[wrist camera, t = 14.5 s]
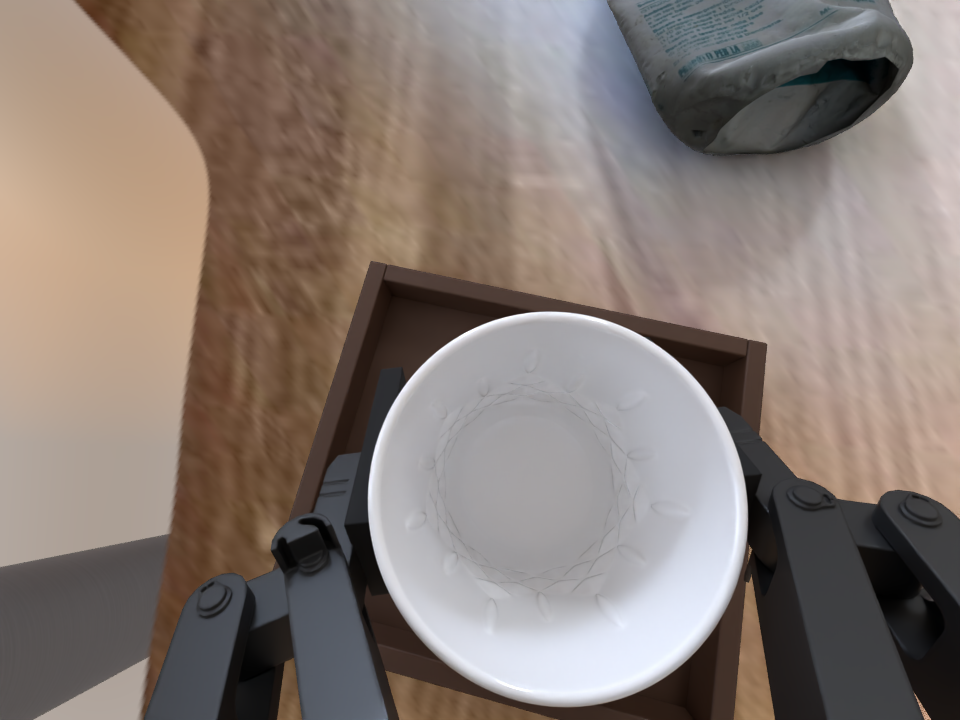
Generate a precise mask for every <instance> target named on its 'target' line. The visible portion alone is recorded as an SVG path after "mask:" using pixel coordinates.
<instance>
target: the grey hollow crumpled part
mask: <svg viewBox="0 0 960 720" xmlns="http://www.w3.org/2000/svg"><path fill="white" fill-rule="evenodd" d="M607 3H608V5H609V7H610V9H611V11H612V13H613V15H614V17H615V19H616V21H617V24H618V26H619V28H620V30H621V32H622V35H623V36H624V38H625V40H626V43H627V45H628V47H629V49H630V51H631V53H632V55H633V57H634V59H635V62H636V63H637V66H638V69H639V70H640V73H641V75H642V77H643V79H644V81H645V84H646V86H647V88H648V91H649V93H650V95H651V98H652V102H653V104H654V106H655V108H656V110H657V112H658V113H659V114H660V116H661V118H662V119H663V121H664V122H665V124H666V125H667V127H668V128H669V129H670V131H671V132H672V133H673V134H674V135H675V136H676V137H677V138H678V139H679V140H680V141H682V142H683V143H684V144H685V145H686V146H688V147H690V148H692V149H693V150H695V151H699V152H701V153H705V154H712V155H735V154H773V153H780V152H785V151H790V150H795V149H799V148H803V147H807V146H811V145H815V144H818V143H820V142H822V141H824V140H827V139H830V138H832V137H834V136H836V135H838V134H840V133H842V132H844V131H846V130H848V129H850V128H851V127H853V126H855V125H856V124H858V123H859V122H861V121H863V120H864V119H866V118H867V117H869V116H870V115H871V114H872V113H874V112H875V111H876V110H877V109H878V108H880V107H881V106H882V105H883V104H884V103H885V102H886V101H888V99H889V98H890V97H891V96H892V95H893V94H894V93H895V92H896V91H897V90H898V88H899V87H900V86H901V84H902V83H903V82H904V80H905V79H906V77H907V75H908V73H909V71H910V69H911V68H912V64H913V48H912V45H911V42H910V39H909V37H908V36H907V34H906V32H905V31H904V30H903V29H902V27H901V26H900V24H899V22H898V20H897V18H896V17H895V16H894V14H893V10H892V8H891V5H890V3H889V0H607Z"/></svg>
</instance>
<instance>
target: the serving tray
mask: <svg viewBox="0 0 960 720" xmlns="http://www.w3.org/2000/svg"><path fill="white" fill-rule="evenodd" d="M533 312H567V313H575V314H582V315H587V316H592V317H596V318H599V319H603V320H606V321H609V322H612V323H615V324H618V325H620V326H622V327H625V328H627V329H629V330H631V331H633V332H635V333H637V334H639V335H641V336H643V337H649V338H650V339H651V340H652V341H653V342H654V344H656V345H657V346H659V347H660V348H662V349H663V350H664V351H666V352H667V353H668V354H670V355H671V356H672V357H673V358H674V359H676V360H677V361H678V362H679V363H680V364H681V365H682V366H683V367H684V368H685V369H686V370H687V371H688V372H689V373H690V374H691V375H692V376H693V377H694V378H695V379H696V380H697V382H698V383H699V384H700V385H701V386H702V388H703V389H704V390H705V391H706V393H707V394H708V396H709V397H710V398H711V400H712V401H713V403H714V404H715V406H716V408H718V407H726V408H728V409H730V410H732V411H733V412H735V413H737V414H738V415H740V416H742V417H743V419H744V420H745V421H746V422H747V423H748V424H749V425H750V426H751V427H752V428H753V431H755V432H756V433H757V434H758V435H759V430H760V419H761V408H762V397H763V385H764V374H765V363H766V352H767V344H766V343H763V342H758V341H753V340H747V339H743V338H739V337H734V336H729V335H724V334H719V333H715V332H710V331H705V330H700V329H695V328H691V327H686V326H681V325H676V324H671V323H667V322H662V321H657V320H652V319H647V318H643V317H638V316H633V315H628V314H623V313H619V312H614V311H609V310H604V309H599V308H595V307H590V306H585V305H580V304H575V303H571V302H566V301H561V300H556V299H551V298H547V297H542V296H537V295H532V294H527V293H523V292H518V291H513V290H508V289H503V288H499V287H494V286H489V285H484V284H479V283H474V282H470V281H465V280H460V279H455V278H450V277H446V276H441V275H436V274H431V273H426V272H422V271H417V270H412V269H407V268H402V267H398V266H393V265H388V266H387V264H383V263H379V262H374V261H371V262H370V265H369V268H368V271H367V275H366V278H365V281H364V284H363V287H362V290H361V294H360V297H359V300H358V303H357V306H356V309H355V312H354V316H353V319H352V322H351V325H350V328H349V331H348V335H347V338H346V341H345V344H344V347H343V350H342V353H341V357H340V360H339V363H338V366H337V369H336V372H335V376H334V379H333V382H332V385H331V388H330V391H329V394H328V398H327V401H326V404H325V407H324V410H323V413H322V417H321V420H320V423H319V426H318V429H317V432H316V435H315V439H314V442H313V445H312V448H311V451H310V454H309V458H308V461H307V464H306V467H305V470H304V473H303V476H302V480H301V483H300V486H299V489H298V492H297V495H296V499H295V502H294V505H293V508H292V511H291V514H290V517H289V521H290V520H292V519H294V518H295V517H297V516H300V515H304V514H307V513H313V512H314V509H315V506H316V502H317V499H318V497H319V493H320V490H321V487H322V485H323V481H324V477H325V474H326V471H327V468H328V467H329V466H330V464H331V463H332V462H333V461H334V460H335V458H336V457H337V456H338V455H342V454H350V453H358V452H361V451H362V447H363V442H364V438H365V434H366V430H367V426H368V422H369V417H370V413H371V409H372V405H373V401H374V396H375V392H376V388H377V384H378V380H379V376H380V371H381V369H389V368H397V367H403V371H404V376H405V380H406V383H407V382H408V381H409V380H410V378H411V377H412V376H413V375H414V373H415V372H416V371H417V370H418V369H419V368H420V367H421V366H422V365H423V364H424V363H425V362H426V361H427V360H428V359H429V358H430V357H431V356H432V355H434V354H435V353H436V352H437V351H438V350H440V349H441V348H442V347H444V346H445V345H446V344H448V343H449V342H451V341H452V340H454V339H455V338H457V337H459V336H461V335H462V334H464V333H466V332H468V331H470V330H472V329H474V328H476V327H478V326H481V325H483V324H486V323H488V322H491V321H494V320H497V319H501V318H504V317H508V316H513V315H518V314H525V313H533ZM748 553H749V544H748V542H747V543H746V550H745V556H744V561H743V565H742V569H741V573H740V576H739V579H738V582H737V585H736V588H735V591H734V593H733V595H732V598H731V600H730V602H729V604H728V606H727V608H726V610H725V612H724V614H723V616H722V617H721V619H720V621H719V622H718V624H717V626H716V627H715V629H714V630H713V631H712V633H711V634H710V635H709V637H708V638H707V639H706V641H705V642H704V643H703V644H702V645H701V647H700V648H699V649H698V650H697V651H696V652H695V653H694V654H693V655H692V656H691V657H690V658H689V659H688V660H687V661H686V662H685V663H683V664H682V665H681V666H680V667H679V668H677V669H676V670H675V671H673V672H672V673H671V674H669V675H668V676H666V677H665V678H663V679H662V680H660V681H659V682H657V683H655V684H653V685H652V686H650V687H648V688H646V689H644V690H642V691H640V692H637V693H635V694H632V695H630V696H627V697H624V698H621V699H618V700H615V701H611V702H607V703H603V704H597V705H591V706H582V707H550V706H541V705H535V704H529V703H525V702H520V701H517V700H513V699H510V698H507V697H504V696H501V695H499V694H496V693H494V692H491V691H489V690H487V689H485V688H483V687H481V686H479V685H477V684H475V683H473V682H471V681H470V680H468V679H466V678H465V677H463V676H462V675H460V674H459V673H457V672H456V671H454V670H453V669H452V668H450V667H449V666H448V665H446V664H445V663H444V662H443V661H442V660H440V659H439V658H438V657H437V656H436V655H435V654H434V653H433V652H432V651H431V650H430V649H429V648H428V647H427V646H426V645H425V644H424V643H423V642H422V641H421V640H420V639H419V638H418V636H417V635H416V634H415V633H414V631H413V630H412V629H411V628H410V626H409V625H408V624H407V622H406V621H405V619H404V618H403V616H402V615H401V613H400V612H399V610H398V608H397V607H396V605H395V603H394V601H393V599H392V597H391V596H390V594H384V595H376V596H371V593H370V591H369V588H368V586H367V587H366V593H365V599H364V603H365V605H366V608H367V610H368V614H369V617H370V621H371V624H372V627H373V631H374V634H375V638H376V641H377V645H378V648H379V651H380V655H381V658H382V662H383V665H384V669H385V670H386V671H389V672H393V673H396V674H400V675H403V676H407V677H410V678H414V679H417V680H421V681H425V682H428V683H432V684H435V685H439V686H442V687H446V688H449V689H453V690H456V691H460V692H463V693H467V694H470V695H474V696H477V697H481V698H484V699H488V700H491V701H495V702H498V703H502V704H505V705H509V706H512V707H516V708H519V709H523V710H526V711H530V712H533V713H537V714H540V715H544V716H547V717H551V718H554V719H558V720H734V709H735V698H736V687H737V675H738V664H739V653H740V642H741V631H742V620H743V608H744V597H745V586H746V582H744V574H745V571H746V568H747V564H748ZM277 568H279V565H278V563H277V561H276V562H275V565H274V568H273V571H274V570H275V569H277Z"/></svg>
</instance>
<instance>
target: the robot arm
mask: <svg viewBox="0 0 960 720" xmlns="http://www.w3.org/2000/svg"><path fill="white" fill-rule="evenodd" d="M645 338H646V339H648V340H650V341H651V342H653V341H652V340H651V339H650V338H649V337H645ZM653 343H654V342H653ZM405 385H406V380H405V376H404V371H403V367H397V368H389V369H381V371H380V376H379V380H378V384H377V388H376V392H375V396H374V401H373V405H372V409H371V413H370V417H369V422H368V426H367V430H366V434H365V438H364V442H363V447H362V451H361V452H358V453H350V454H342V455H338V456H337V457H336V458H335V460H334V461H333V462H332V463H331V464H330V466H329V467H328V468H327V471H326V474H325V477H324V481H323V485H322V487H321V490H320V493H319V497H318V499H317V502H316V506H315V509H314V512H313V513H307V514H304V515H300V516H297V517H295V518H294V519H292V520H290V521H288V522H287V523H286V524H285V525H284V526H283V527H282V528H280V529H279V530H278V532H277V533H276V535H275V537H274V538H273V540H272V545H271V552H272V554H273V556H274V557H275V559H276V561H277V563H278V565H279V568H277V569H275V570H274V571H271V572H269V573H267V574H264V575H262V576H259V577H257V578H254V579H252V580H249V581H247V582H246V581H245V580H244V578H243V577H242V576H241V575H238V574H235V573H227V574H221V575H219V576H216V577H214V578H211V579H210V580H208V581H207V582H205V583H204V584H202V585H201V586H200V587H198V588H197V589H196V591H195V592H194V593H193V594H192V595H191V596H190V597H189V598H188V600H187V602H186V604H185V606H184V607H183V609H182V612H181V615H180V618H179V621H178V623H177V626H176V629H175V632H174V635H173V638H172V640H171V643H170V646H169V649H168V652H167V655H166V658H165V660H164V663H163V666H162V669H161V672H160V675H159V677H158V680H157V683H156V686H155V689H154V692H153V694H152V697H151V700H150V703H149V706H148V709H147V711H146V714H145V717H144V720H277V715H278V708H279V700H280V693H281V685H282V678H283V671H284V663H285V662H286V661H288V660H290V659H292V658H294V660H295V668H296V675H297V683H298V691H299V698H300V706H301V714H302V720H399V717H398V713H397V710H396V706H395V703H394V699H393V696H392V693H391V689H390V686H389V682H388V679H387V675H386V672H385V669H384V665H383V662H382V658H381V655H380V651H379V648H378V645H377V641H376V638H375V634H374V631H373V627H372V624H371V621H370V617H369V614H368V610H367V608H366V605H365V603H364V599H365V593H366V587H367V586H368V588H369V591H370V593H371V596H376V595H384V594H389V591H388V589H387V587H386V585H385V583H384V580H383V578H382V575H381V572H380V570H379V567H378V564H377V560H376V557H375V553H374V549H373V544H372V539H371V534H370V527H369V517H368V485H369V475H370V468H371V463H372V458H373V453H374V449H375V446H376V443H377V439H378V436H379V433H380V431H381V428H382V426H383V423H384V421H385V419H386V416H387V414H388V412H389V410H390V408H391V407H392V405H393V403H394V401H395V400H396V398H397V396H398V395H399V393H400V392H401V390H402V389H403V387H404V386H405ZM717 409H718V411H719V413H720V414H721V416H722V418H723V420H724V422H725V424H726V426H727V428H728V430H729V432H730V434H731V437H732V439H733V441H734V444H735V447H736V450H737V453H738V456H739V459H740V462H741V466H742V470H743V475H744V480H745V485H746V493H747V503H748V532H747V542H748V544H749V545H750V547H751V548H752V553H751V556H750V559H749V562H748V565H747V568H746V571H745V574H744V582H749V580H750V577H751V574H752V579H753V585H754V591H755V598H756V604H757V610H758V616H759V622H760V629H761V635H762V641H763V647H764V653H765V660H766V666H767V672H768V678H769V684H770V691H771V697H772V703H773V709H774V715H775V720H924V717H923V715H922V712H921V710H920V707H919V705H918V702H917V699H916V697H915V694H916V696H917V697H918V699H919V701H920V702H921V704H922V705H923V707H924V709H925V710H926V712H927V714H928V715H929V717H930V718H931V720H960V519H959V518H958V517H957V516H956V515H955V514H954V513H952V512H951V511H950V510H949V509H947V508H946V507H945V506H944V505H942V504H941V503H939V502H937V501H935V500H933V499H931V498H929V497H927V496H924V495H921V494H918V493H915V492H910V491H903V490H895V491H888V492H886V493H885V494H884V495H883V496H881V498H880V500H879V502H878V504H870V503H862V502H854V501H847V500H841V499H836V497H835V496H834V495H833V494H832V493H830V492H829V491H828V490H827V489H825V488H824V487H822V486H820V485H818V484H816V483H814V482H811V481H807V480H804V479H800V478H797V477H796V476H795V475H794V474H793V472H792V471H791V470H790V469H789V468H788V467H787V466H786V465H785V464H784V463H783V461H782V460H781V459H780V458H779V457H778V456H777V455H776V454H775V453H774V452H773V450H772V449H771V448H770V447H769V446H768V445H767V444H766V443H765V442H764V441H762V438H761V437H760V436H759V435H758V434H757V433H756V432H755V431H753V428H752V427H751V426H750V425H749V424H748V423H747V422H746V421H745V420H744V419H743V417H742V416H740V415H738V414H737V413H735V412H733V411H732V410H730V409H728V408H726V407H718V408H717ZM913 691H914V692H913ZM914 693H915V694H914Z"/></svg>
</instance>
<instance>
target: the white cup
mask: <svg viewBox="0 0 960 720" xmlns="http://www.w3.org/2000/svg"><path fill="white" fill-rule="evenodd" d="M368 517H369V527H370V534H371V539H372V544H373V549H374V553H375V557H376V560H377V564H378V567H379V570H380V572H381V575H382V578H383V580H384V583H385V585H386V587H387V589H388V591H389V594H390V596H391V597H392V599H393V601H394V603H395V605H396V607H397V608H398V610H399V612H400V613H401V615H402V616H403V618H404V619H405V621H406V622H407V624H408V625H409V626H410V628H411V629H412V630H413V631H414V633H415V634H416V635H417V636H418V638H419V639H420V640H421V641H422V642H423V643H424V644H425V645H426V646H427V647H428V648H429V649H430V650H431V651H432V652H433V653H434V654H435V655H436V656H437V657H438V658H439V659H440V660H442V661H443V662H444V663H445V664H446V665H448V666H449V667H450V668H452V669H453V670H454V671H456V672H457V673H459V674H460V675H462V676H463V677H465V678H466V679H468V680H470V681H471V682H473V683H475V684H477V685H479V686H481V687H483V688H485V689H487V690H489V691H491V692H494V693H496V694H499V695H501V696H504V697H507V698H510V699H513V700H517V701H520V702H525V703H529V704H535V705H541V706H550V707H582V706H591V705H597V704H603V703H607V702H611V701H615V700H618V699H621V698H624V697H627V696H630V695H632V694H635V693H637V692H640V691H642V690H644V689H646V688H648V687H650V686H652V685H653V684H655V683H657V682H659V681H660V680H662V679H663V678H665V677H666V676H668V675H669V674H671V673H672V672H673V671H675V670H676V669H677V668H679V667H680V666H681V665H682V664H683V663H685V662H686V661H687V660H688V659H689V658H690V657H691V656H692V655H693V654H694V653H695V652H696V651H697V650H698V649H699V648H700V647H701V645H702V644H703V643H704V642H705V641H706V639H707V638H708V637H709V635H710V634H711V633H712V631H713V630H714V629H715V627H716V626H717V624H718V622H719V621H720V619H721V617H722V616H723V614H724V612H725V610H726V608H727V606H728V604H729V602H730V600H731V598H732V595H733V593H734V591H735V588H736V585H737V582H738V579H739V576H740V573H741V569H742V565H743V561H744V556H745V550H746V543H747V532H748V503H747V493H746V485H745V480H744V475H743V470H742V466H741V462H740V459H739V456H738V453H737V450H736V447H735V444H734V441H733V439H732V437H731V434H730V432H729V430H728V428H727V426H726V424H725V422H724V420H723V418H722V416H721V414H720V413H719V411H718V409H717V408H716V406H715V404H714V403H713V401H712V400H711V398H710V397H709V396H708V394H707V393H706V391H705V390H704V389H703V388H702V386H701V385H700V384H699V383H698V382H697V380H696V379H695V378H694V377H693V376H692V375H691V374H690V373H689V372H688V371H687V370H686V369H685V368H684V367H683V366H682V365H681V364H680V363H679V362H678V361H677V360H676V359H674V358H673V357H672V356H671V355H670V354H668V353H667V352H666V351H664V350H663V349H662V348H660V347H659V346H657V345H656V344H654V343H653V342H651V341H650V340H648V339H646V338H645V337H643V336H641V335H639V334H637V333H635V332H633V331H631V330H629V329H627V328H625V327H622V326H620V325H618V324H615V323H612V322H609V321H606V320H603V319H599V318H596V317H592V316H587V315H582V314H575V313H567V312H533V313H525V314H518V315H513V316H508V317H504V318H501V319H497V320H494V321H491V322H488V323H486V324H483V325H481V326H478V327H476V328H474V329H472V330H470V331H468V332H466V333H464V334H462V335H461V336H459V337H457V338H455V339H454V340H452V341H451V342H449V343H448V344H446V345H445V346H444V347H442V348H441V349H440V350H438V351H437V352H436V353H435V354H434V355H432V356H431V357H430V358H429V359H428V360H427V361H426V362H425V363H424V364H423V365H422V366H421V367H420V368H419V369H418V370H417V371H416V372H415V373H414V375H413V376H412V377H411V378H410V380H409V381H408V382H407V383H406V385H405V386H404V387H403V389H402V390H401V392H400V393H399V395H398V396H397V398H396V400H395V401H394V403H393V405H392V407H391V408H390V410H389V412H388V414H387V416H386V419H385V421H384V423H383V426H382V428H381V431H380V433H379V436H378V439H377V443H376V446H375V449H374V453H373V458H372V463H371V468H370V475H369V485H368Z"/></svg>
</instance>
